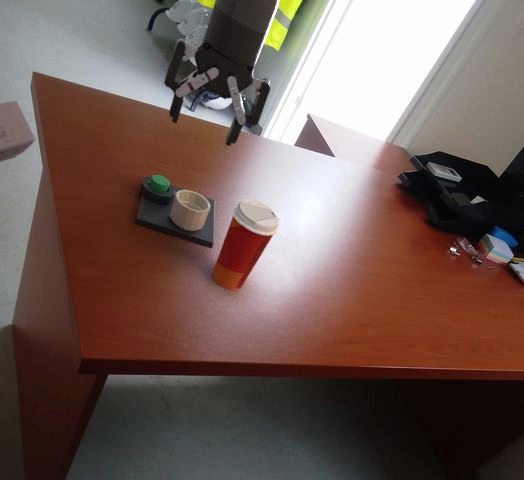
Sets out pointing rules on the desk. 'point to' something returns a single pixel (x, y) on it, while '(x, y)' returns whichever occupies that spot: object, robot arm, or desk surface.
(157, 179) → the button
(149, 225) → the scale
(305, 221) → the desk surface
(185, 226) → the bowl
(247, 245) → the paper cup
